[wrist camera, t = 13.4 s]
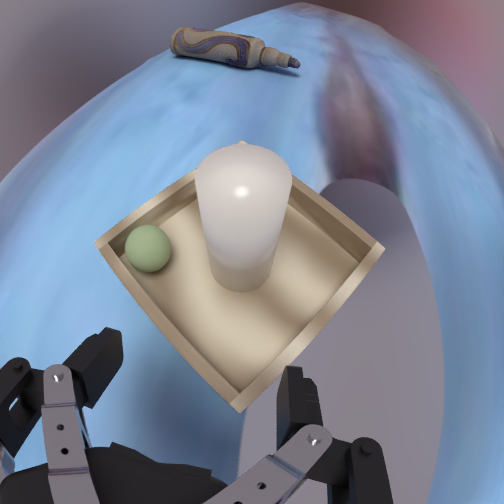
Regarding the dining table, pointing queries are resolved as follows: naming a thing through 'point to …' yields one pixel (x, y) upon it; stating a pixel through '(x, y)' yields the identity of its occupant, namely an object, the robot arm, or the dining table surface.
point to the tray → (243, 303)
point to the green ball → (147, 248)
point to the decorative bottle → (228, 48)
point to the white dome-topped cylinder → (242, 212)
